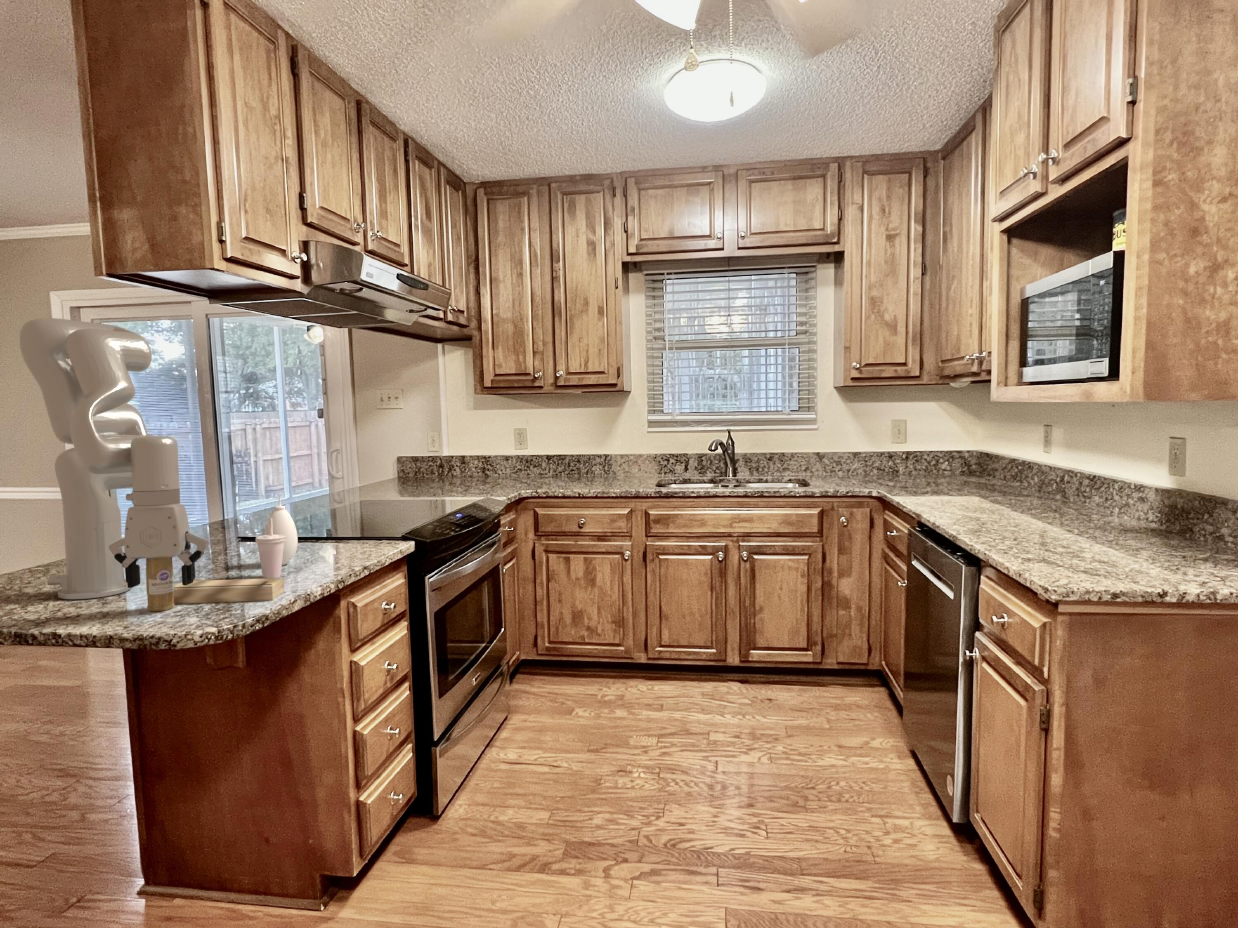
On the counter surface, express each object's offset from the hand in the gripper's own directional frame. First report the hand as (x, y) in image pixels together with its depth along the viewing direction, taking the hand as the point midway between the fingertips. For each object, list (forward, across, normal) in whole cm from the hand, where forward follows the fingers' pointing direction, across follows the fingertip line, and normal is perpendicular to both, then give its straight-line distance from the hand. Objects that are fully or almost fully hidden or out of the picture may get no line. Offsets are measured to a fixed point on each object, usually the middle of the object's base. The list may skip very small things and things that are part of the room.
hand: (161, 584), depth 128 cm
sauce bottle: (+5, +10, +39) cm, 40 cm away
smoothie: (+5, +12, +26) cm, 29 cm away
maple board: (+5, +9, +7) cm, 13 cm away
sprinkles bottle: (+5, 0, 0) cm, 5 cm away
